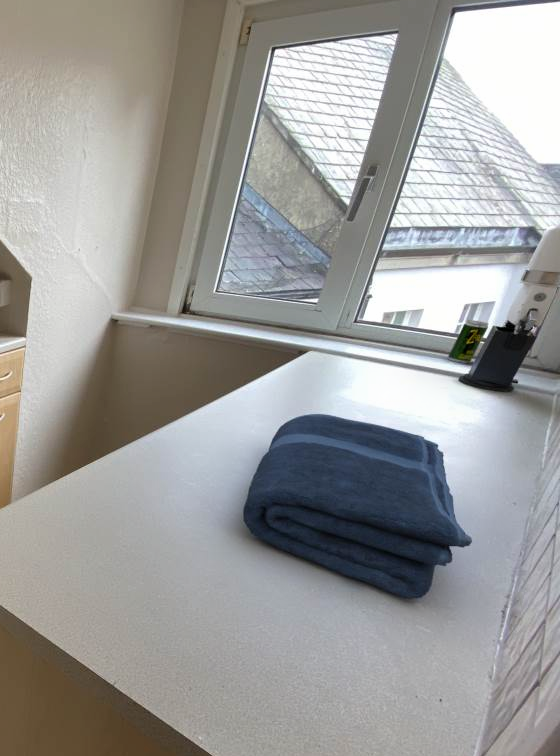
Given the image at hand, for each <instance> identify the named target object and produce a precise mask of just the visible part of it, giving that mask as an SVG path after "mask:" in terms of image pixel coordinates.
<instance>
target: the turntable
mask: <svg viewBox="0 0 560 756" xmlns="http://www.w3.org/2000/svg"><path fill="white" fill-rule="evenodd" d="M463 377H464V375H461V376H459V377H458V379H457V380H458V382H459V383H460V384H461V383H462V384H464V385H466V386H469V387H472V388H476V389H479V390H484V391H488V392H489V391H490V392H495V393H513V392H514V390H515V387H514V386H513V385H512V386H511V387H510V388H496V387H490V386H485V385H480V384H476V383H473V382H470V381H468V380H466V379H464V378H463Z"/></svg>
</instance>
